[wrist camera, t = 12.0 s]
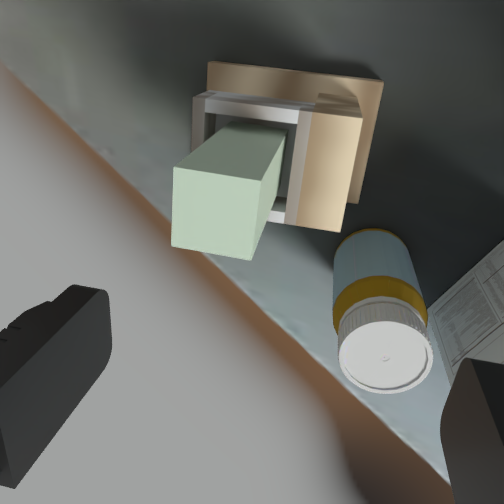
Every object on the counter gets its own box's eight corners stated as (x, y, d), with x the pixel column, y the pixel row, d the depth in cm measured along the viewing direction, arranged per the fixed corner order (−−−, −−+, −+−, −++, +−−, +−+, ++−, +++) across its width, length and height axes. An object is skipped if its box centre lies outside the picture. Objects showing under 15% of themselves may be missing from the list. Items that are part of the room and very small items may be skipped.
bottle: (379, 211, 41) (398, 296, 28) (423, 265, 42) (462, 370, 29) (319, 252, 44) (310, 348, 30) (363, 302, 45) (372, 413, 32)
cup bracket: (381, 80, 36) (399, 99, 25) (357, 196, 41) (363, 254, 30) (214, 60, 38) (164, 71, 27) (208, 174, 42) (164, 222, 32)
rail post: (288, 129, 30) (260, 180, 20) (280, 185, 32) (251, 260, 21) (231, 120, 31) (173, 167, 20) (226, 176, 32) (171, 246, 22)
